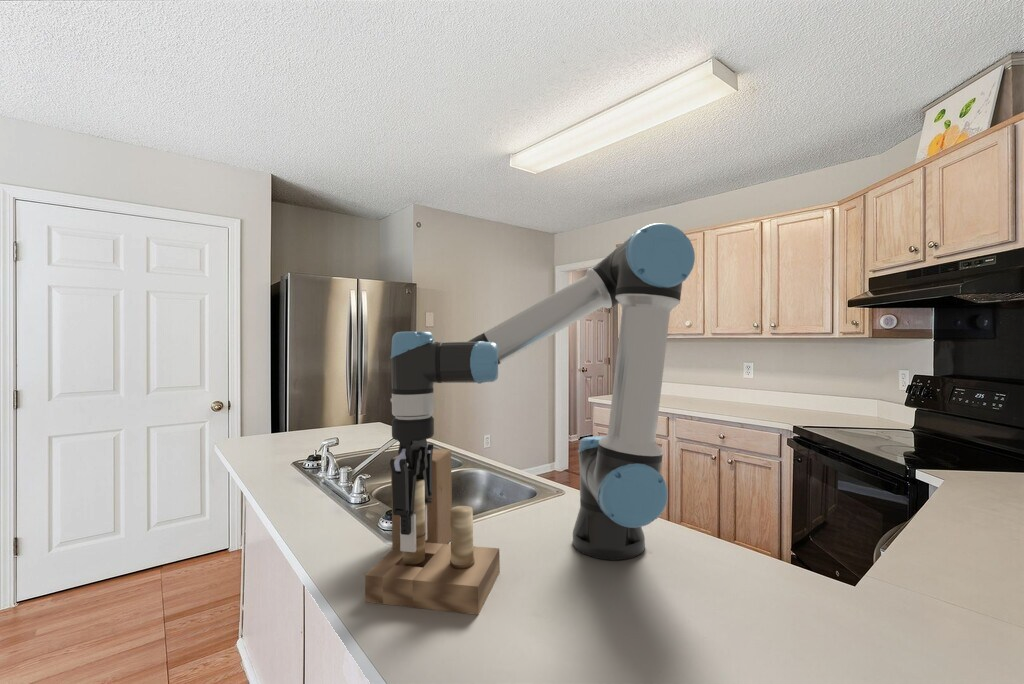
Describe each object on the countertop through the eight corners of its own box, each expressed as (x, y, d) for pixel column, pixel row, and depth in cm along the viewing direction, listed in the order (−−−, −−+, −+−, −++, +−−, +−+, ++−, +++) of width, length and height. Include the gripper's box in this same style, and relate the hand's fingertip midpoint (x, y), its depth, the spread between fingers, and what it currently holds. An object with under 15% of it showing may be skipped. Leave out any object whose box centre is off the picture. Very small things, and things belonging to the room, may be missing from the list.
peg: (429, 555, 85) (428, 479, 85) (420, 565, 80) (419, 486, 81) (408, 552, 85) (407, 478, 86) (398, 563, 81) (397, 484, 81)
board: (499, 572, 87) (498, 498, 87) (478, 614, 73) (476, 527, 73) (402, 563, 91) (401, 492, 91) (365, 601, 77) (364, 519, 78)
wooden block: (437, 558, 93) (435, 460, 93) (391, 555, 95) (390, 458, 95) (453, 538, 103) (451, 449, 103) (411, 535, 105) (410, 448, 105)
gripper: (414, 409, 92) (415, 525, 92) (369, 423, 76) (370, 565, 75) (449, 410, 91) (450, 527, 91) (411, 424, 74) (413, 569, 74)
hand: (414, 544), depth 83 cm, fingers closed on peg, 4 cm apart
